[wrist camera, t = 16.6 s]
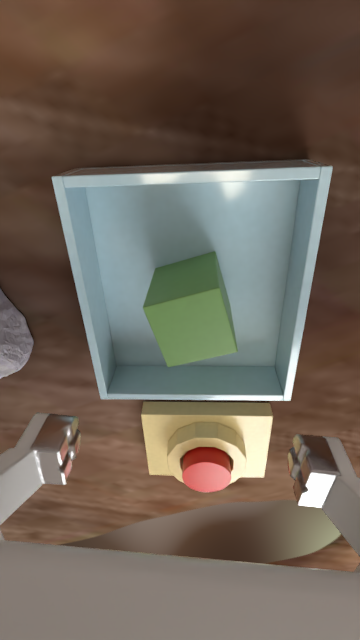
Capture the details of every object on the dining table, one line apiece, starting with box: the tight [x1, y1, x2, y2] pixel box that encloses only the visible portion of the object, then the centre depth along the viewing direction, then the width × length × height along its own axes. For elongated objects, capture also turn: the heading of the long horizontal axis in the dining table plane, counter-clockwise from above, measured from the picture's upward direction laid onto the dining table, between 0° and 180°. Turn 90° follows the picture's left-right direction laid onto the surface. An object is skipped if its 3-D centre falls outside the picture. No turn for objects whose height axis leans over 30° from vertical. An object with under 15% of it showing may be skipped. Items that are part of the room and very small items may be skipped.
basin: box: [51, 159, 333, 401], centre depth 23 cm, size 15×16×4 cm
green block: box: [143, 251, 238, 367], centre depth 22 cm, size 4×4×6 cm
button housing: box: [141, 401, 273, 484], centre depth 32 cm, size 12×9×4 cm
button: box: [182, 447, 231, 492], centre depth 30 cm, size 4×4×2 cm
